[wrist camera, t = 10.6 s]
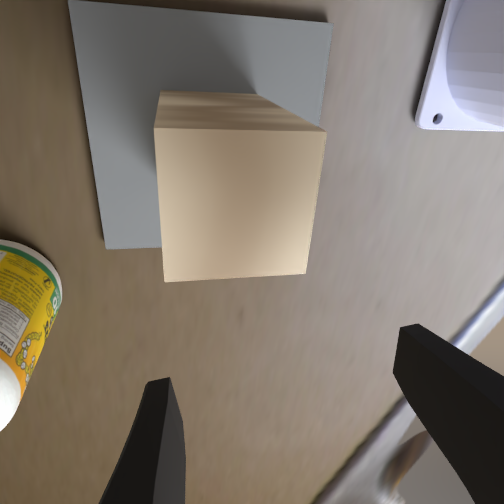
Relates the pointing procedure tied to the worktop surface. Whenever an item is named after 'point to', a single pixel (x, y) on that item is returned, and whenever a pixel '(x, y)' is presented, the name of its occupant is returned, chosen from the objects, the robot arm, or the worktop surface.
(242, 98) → the maple part
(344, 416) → the worktop surface
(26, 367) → the supplement bottle
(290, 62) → the slate mat
